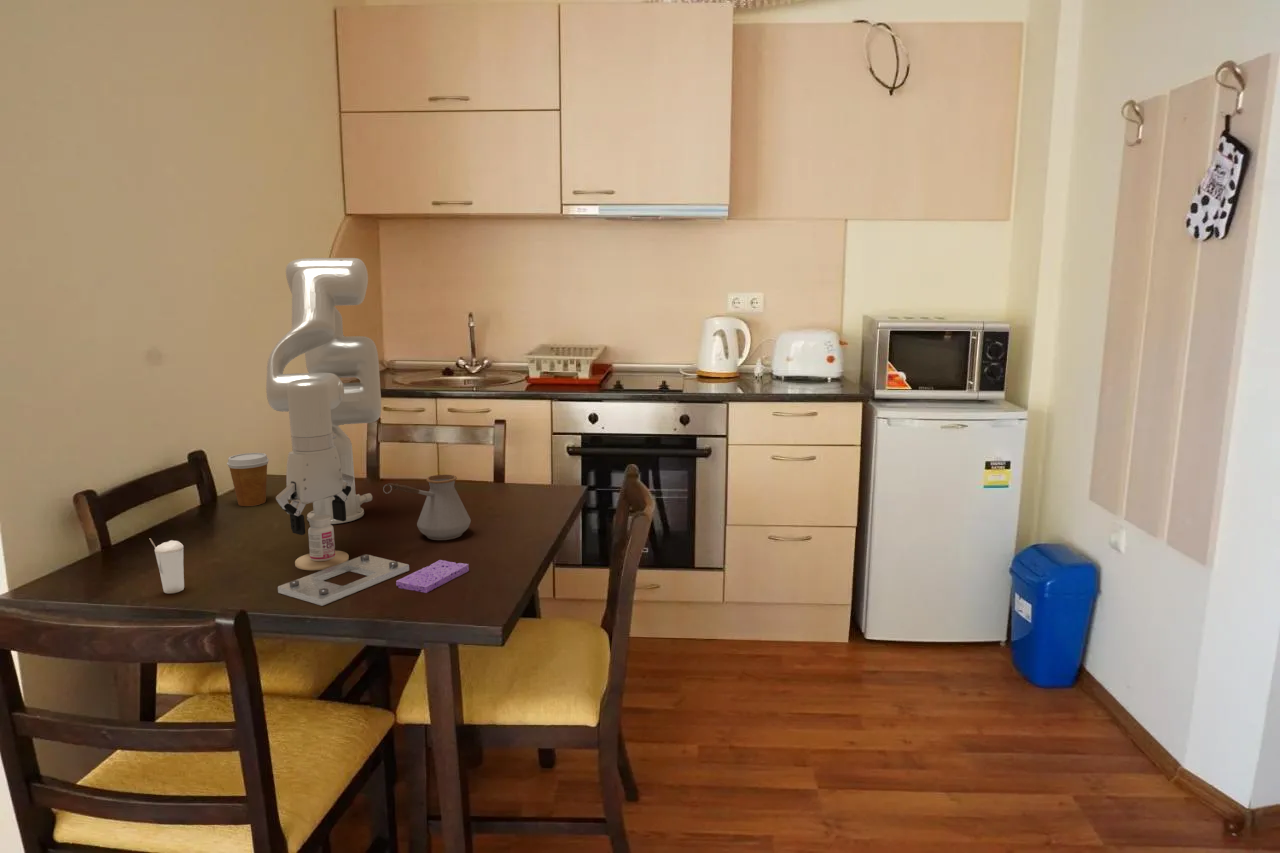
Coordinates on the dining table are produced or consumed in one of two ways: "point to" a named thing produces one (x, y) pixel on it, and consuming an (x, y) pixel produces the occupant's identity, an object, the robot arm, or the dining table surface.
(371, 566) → the flange plate
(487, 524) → the dining table surface
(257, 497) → the disposable coffee cup
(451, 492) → the coffee pot
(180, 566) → the milkshake
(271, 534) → the dining table surface
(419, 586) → the sponges
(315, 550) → the pill bottle
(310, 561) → the cork coaster
